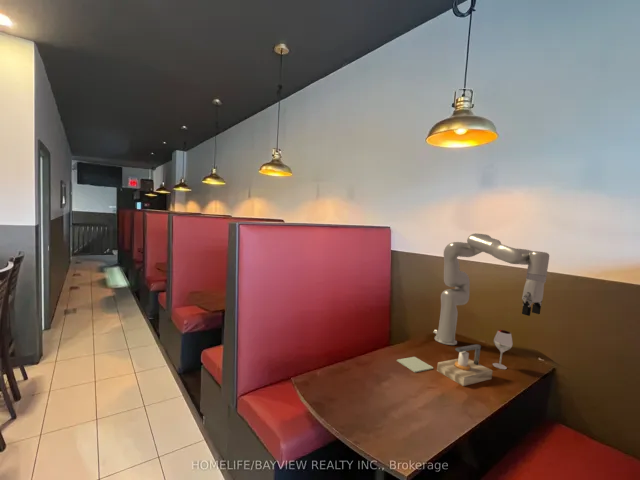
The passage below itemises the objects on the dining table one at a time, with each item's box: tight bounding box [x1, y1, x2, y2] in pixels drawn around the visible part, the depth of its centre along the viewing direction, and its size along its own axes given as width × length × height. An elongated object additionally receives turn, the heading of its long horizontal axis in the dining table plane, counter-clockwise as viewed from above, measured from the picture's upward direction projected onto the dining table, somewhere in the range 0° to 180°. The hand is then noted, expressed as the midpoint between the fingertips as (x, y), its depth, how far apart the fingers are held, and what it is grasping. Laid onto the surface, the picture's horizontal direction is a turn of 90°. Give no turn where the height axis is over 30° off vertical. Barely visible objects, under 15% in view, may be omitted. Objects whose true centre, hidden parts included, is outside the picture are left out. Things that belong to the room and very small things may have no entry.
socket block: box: [436, 358, 494, 387], centre depth 143 cm, size 14×20×4 cm
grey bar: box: [454, 344, 482, 365], centre depth 143 cm, size 16×2×9 cm, turn 119°
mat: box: [396, 356, 434, 373], centre depth 148 cm, size 12×12×1 cm
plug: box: [455, 351, 470, 370], centre depth 142 cm, size 6×6×11 cm
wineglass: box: [492, 329, 513, 370], centre depth 156 cm, size 8×8×18 cm
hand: (530, 314), depth 144 cm, fingers open, 9 cm apart
